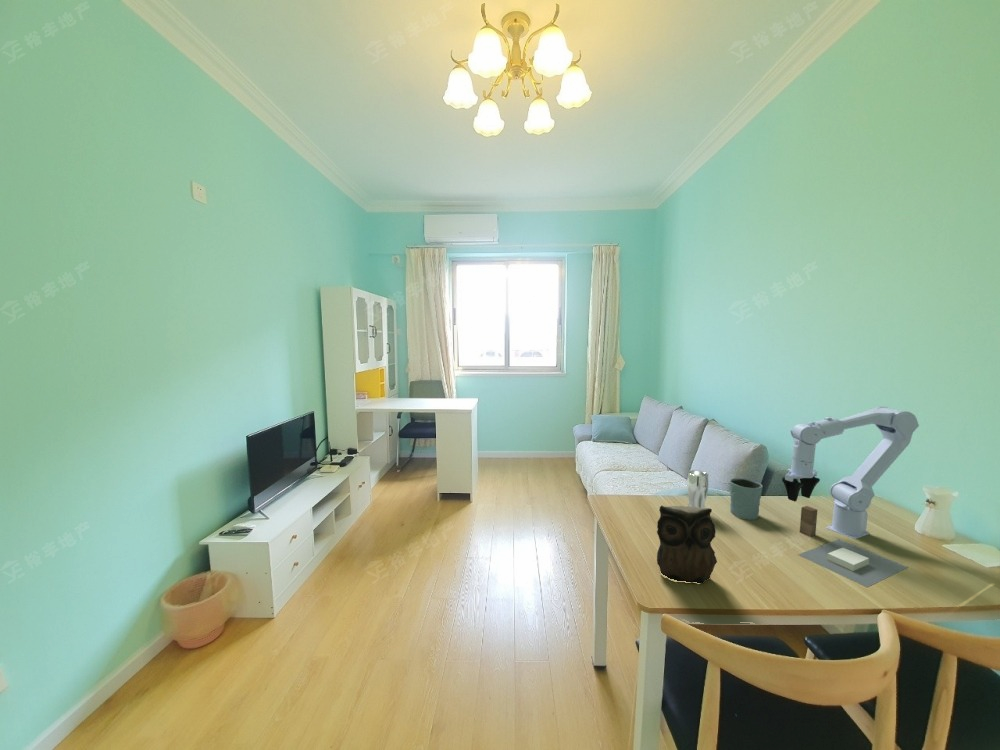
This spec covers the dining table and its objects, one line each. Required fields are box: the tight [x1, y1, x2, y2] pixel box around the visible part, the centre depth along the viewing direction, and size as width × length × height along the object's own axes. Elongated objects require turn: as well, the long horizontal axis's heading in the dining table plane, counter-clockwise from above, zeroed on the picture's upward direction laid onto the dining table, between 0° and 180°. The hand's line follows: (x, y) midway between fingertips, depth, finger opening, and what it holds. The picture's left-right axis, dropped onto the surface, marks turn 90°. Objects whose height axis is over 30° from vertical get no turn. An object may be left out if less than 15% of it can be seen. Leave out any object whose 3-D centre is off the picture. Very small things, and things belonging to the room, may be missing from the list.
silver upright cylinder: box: [686, 469, 710, 508], centre depth 138 cm, size 7×7×15 cm
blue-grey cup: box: [729, 477, 763, 521], centre depth 137 cm, size 10×10×12 cm
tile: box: [827, 548, 869, 572], centre depth 107 cm, size 2×6×8 cm
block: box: [799, 505, 818, 537], centre depth 123 cm, size 3×3×9 cm
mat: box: [797, 538, 909, 588], centre depth 108 cm, size 22×16×1 cm
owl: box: [656, 505, 718, 584], centre depth 101 cm, size 13×13×20 cm
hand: (798, 498), depth 127 cm, fingers open, 7 cm apart
